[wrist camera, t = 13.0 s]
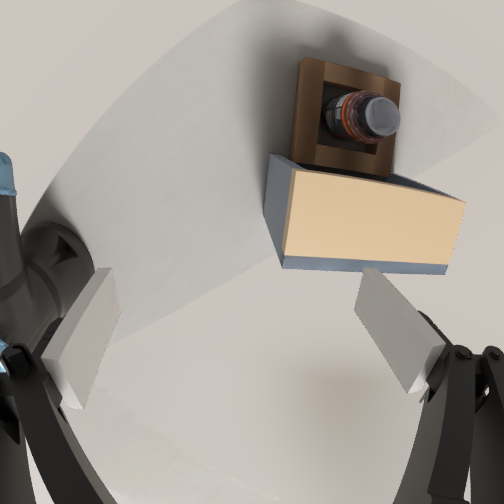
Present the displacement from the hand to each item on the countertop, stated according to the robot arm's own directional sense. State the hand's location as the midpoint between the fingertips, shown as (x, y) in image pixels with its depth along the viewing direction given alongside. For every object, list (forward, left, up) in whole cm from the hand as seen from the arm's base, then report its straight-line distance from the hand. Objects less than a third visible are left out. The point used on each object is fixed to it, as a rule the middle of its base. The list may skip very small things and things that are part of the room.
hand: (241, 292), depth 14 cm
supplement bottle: (+13, +11, -25) cm, 30 cm away
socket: (+13, +11, -24) cm, 30 cm away
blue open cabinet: (+13, +1, -24) cm, 27 cm away
